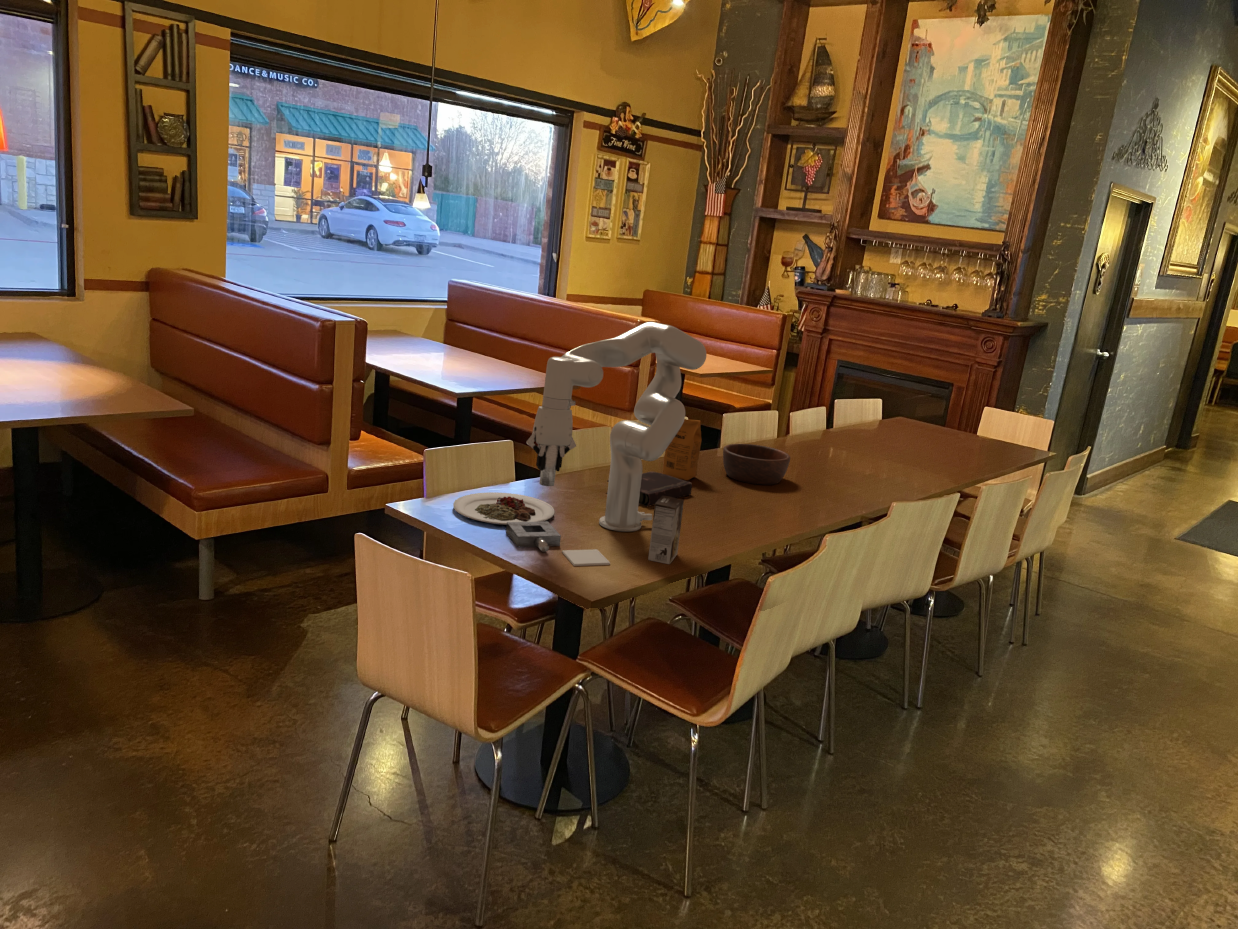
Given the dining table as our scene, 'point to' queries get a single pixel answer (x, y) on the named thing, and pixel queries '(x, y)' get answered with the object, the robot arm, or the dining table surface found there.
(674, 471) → the coffee package
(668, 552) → the coffee box
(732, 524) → the dining table surface
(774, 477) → the wooden bowl
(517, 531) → the chuck block
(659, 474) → the diary
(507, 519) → the plated food
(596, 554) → the pad
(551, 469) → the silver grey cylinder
